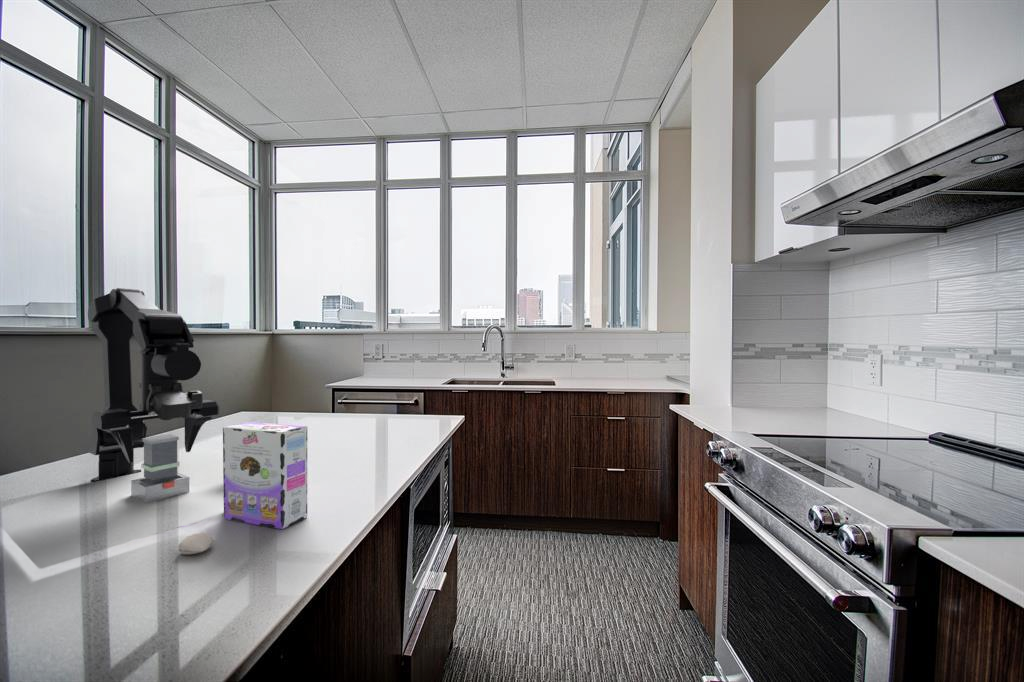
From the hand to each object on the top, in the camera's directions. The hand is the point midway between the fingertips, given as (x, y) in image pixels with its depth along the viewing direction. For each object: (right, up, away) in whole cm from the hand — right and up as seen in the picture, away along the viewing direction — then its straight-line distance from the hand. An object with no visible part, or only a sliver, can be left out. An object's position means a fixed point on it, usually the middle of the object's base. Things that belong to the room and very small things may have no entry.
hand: (160, 457), depth 85 cm
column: (0, -4, 0) cm, 4 cm away
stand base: (0, -8, 0) cm, 8 cm away
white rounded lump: (+22, -9, -21) cm, 32 cm away
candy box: (+25, -9, -9) cm, 28 cm away
